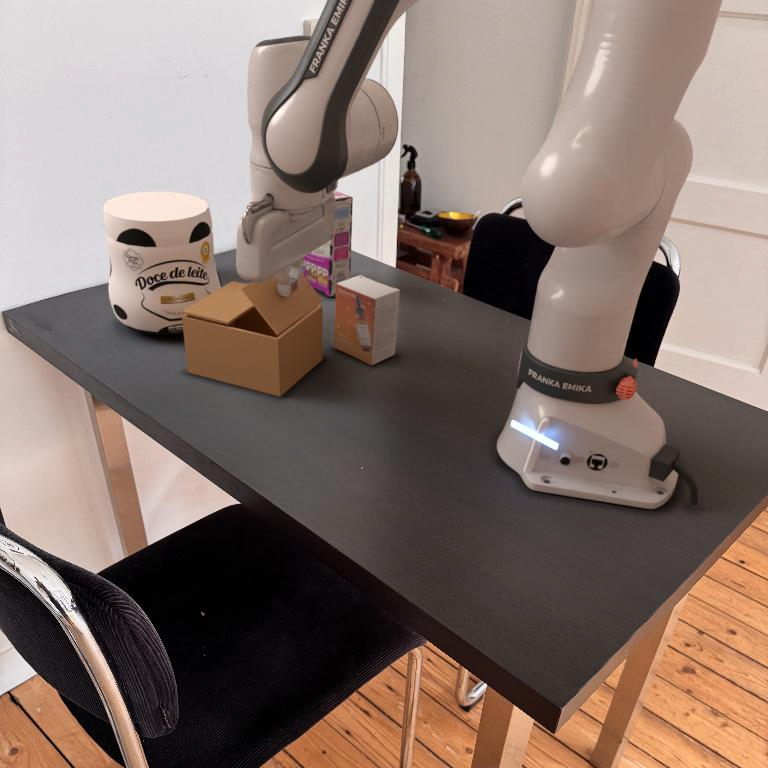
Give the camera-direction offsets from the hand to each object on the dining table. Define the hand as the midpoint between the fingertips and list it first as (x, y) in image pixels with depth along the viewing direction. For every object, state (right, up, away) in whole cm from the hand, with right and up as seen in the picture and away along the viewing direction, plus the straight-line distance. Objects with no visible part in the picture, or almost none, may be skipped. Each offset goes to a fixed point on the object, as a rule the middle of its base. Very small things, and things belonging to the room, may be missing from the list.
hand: (288, 292), depth 106 cm
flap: (-1, 0, +1) cm, 1 cm away
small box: (+10, -5, +15) cm, 19 cm away
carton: (-6, -8, +9) cm, 13 cm away
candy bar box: (+2, +11, +35) cm, 37 cm away
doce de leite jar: (-21, +1, +20) cm, 29 cm away
